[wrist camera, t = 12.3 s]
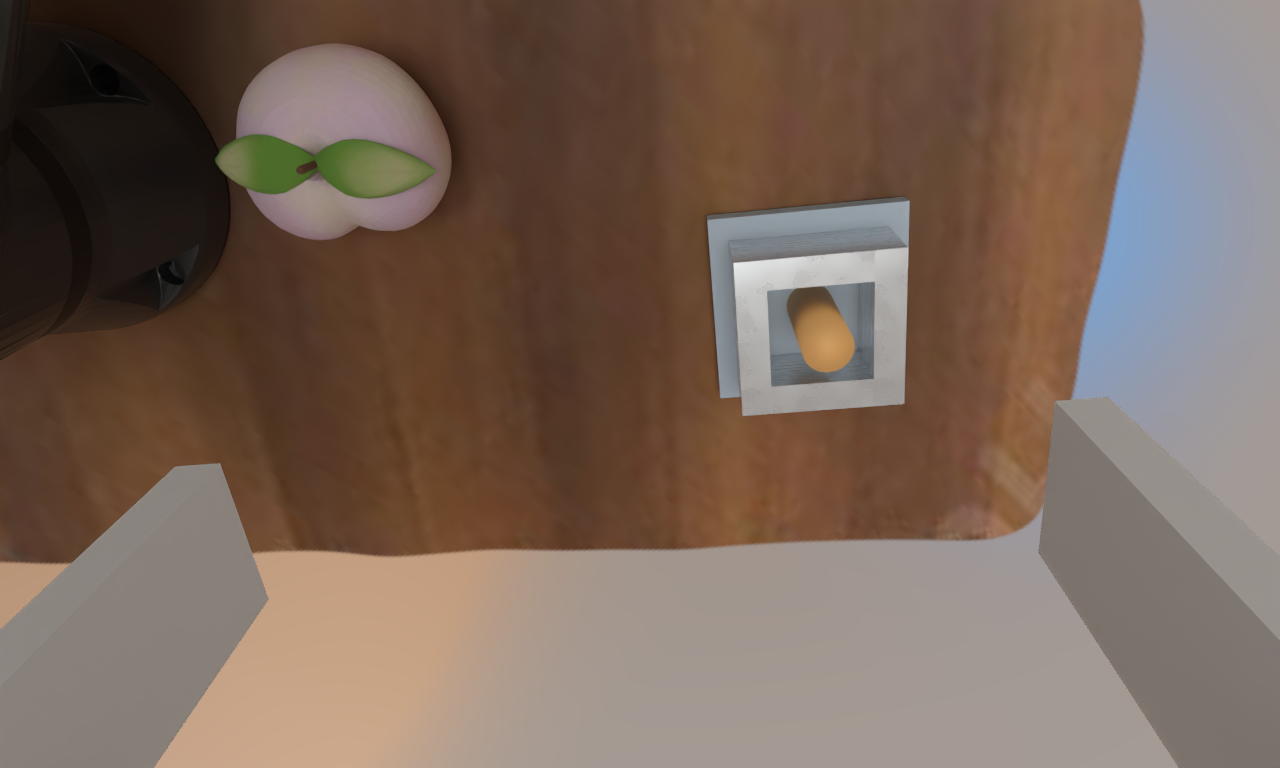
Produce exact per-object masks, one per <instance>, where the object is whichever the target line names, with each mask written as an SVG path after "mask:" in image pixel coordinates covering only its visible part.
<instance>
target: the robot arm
mask: <svg viewBox="0 0 1280 768" xmlns="http://www.w3.org/2000/svg"><path fill="white" fill-rule="evenodd" d="M29 5H30V0H0V360H1V359H3V358H5V357H7V356H8V355H10V354H12V353H14V352H16V351H17V350H19V349H21V348H23V347H25V346H26V345H28V344H30V343H32V342H33V341H35V340H37V339H39V338H41V337H43V336H45V335H49V334H61V333H72V332H84V331H96V330H108V329H116V328H122V327H127V326H131V325H134V324H138V323H141V322H144V321H146V320H149V319H151V318H154V317H156V316H158V315H160V314H161V313H163V312H165V311H166V310H168V309H170V308H171V307H173V306H175V305H176V304H178V303H180V302H181V301H183V300H184V299H186V298H187V297H189V296H190V295H191V294H193V293H194V292H195V291H196V290H197V289H198V288H199V287H200V286H201V285H202V284H203V283H204V282H205V281H206V279H207V278H208V277H209V275H210V274H211V273H212V271H213V269H214V268H215V266H216V264H217V262H218V260H219V258H220V256H221V253H222V250H223V247H224V244H225V240H226V236H227V230H228V222H229V198H228V190H227V184H226V179H225V174H224V173H223V172H222V170H221V169H220V168H219V166H218V165H217V164H216V162H215V158H216V157H217V156H218V152H217V150H216V148H215V145H214V143H213V141H212V139H211V137H210V135H209V133H208V131H207V129H206V127H205V125H204V124H203V122H202V120H201V119H200V117H199V116H198V114H197V113H196V111H195V110H194V108H193V107H192V106H191V104H190V103H189V102H188V100H187V99H186V98H185V97H184V95H183V94H182V93H181V92H180V91H179V90H178V88H177V87H176V86H175V85H174V84H173V83H172V82H171V81H170V80H169V79H168V78H167V77H166V76H165V75H164V74H163V73H161V72H160V71H159V70H158V69H157V68H156V67H154V66H153V65H152V64H151V63H150V62H148V61H147V60H146V59H144V58H143V57H141V56H140V55H139V54H137V53H136V52H134V51H132V50H131V49H129V48H128V47H126V46H124V45H122V44H121V43H119V42H117V41H115V40H113V39H111V38H109V37H107V36H104V35H102V34H99V33H97V32H94V31H91V30H88V29H85V28H82V27H78V26H74V25H69V24H64V23H57V22H27V21H28V13H29ZM1039 554H1040V555H1041V557H1042V559H1043V560H1044V562H1045V563H1046V565H1047V566H1048V568H1049V569H1050V571H1051V572H1052V574H1053V575H1054V577H1055V579H1056V580H1057V582H1058V583H1059V585H1060V586H1061V588H1062V589H1063V591H1064V592H1065V594H1066V595H1067V597H1068V598H1069V600H1070V602H1071V603H1072V605H1073V606H1074V607H1075V609H1076V611H1077V612H1078V614H1079V615H1080V617H1081V618H1082V620H1083V621H1084V623H1085V625H1086V626H1087V628H1088V629H1089V631H1090V632H1091V634H1092V635H1093V637H1094V638H1095V640H1096V641H1097V643H1098V644H1099V646H1100V648H1101V649H1102V651H1103V652H1104V654H1105V655H1106V657H1107V658H1108V660H1109V661H1110V663H1111V664H1112V666H1113V667H1114V669H1115V670H1116V672H1117V674H1118V675H1119V677H1120V678H1121V680H1122V681H1123V683H1124V684H1125V686H1126V687H1127V689H1128V690H1129V692H1130V693H1131V695H1132V697H1133V698H1134V700H1135V701H1136V703H1137V704H1138V706H1139V707H1140V709H1141V710H1142V712H1143V713H1144V715H1145V717H1146V718H1147V720H1148V721H1149V723H1150V724H1151V726H1152V727H1153V729H1154V730H1155V732H1156V733H1157V735H1158V736H1159V738H1160V739H1161V741H1162V743H1163V744H1164V746H1165V747H1166V749H1167V750H1168V752H1169V753H1170V755H1171V756H1172V758H1173V759H1174V761H1175V762H1176V764H1177V766H1178V767H1179V768H1280V556H1279V555H1278V554H1277V553H1276V552H1275V551H1274V550H1273V549H1272V548H1271V547H1270V546H1269V545H1267V544H1266V543H1265V542H1264V541H1263V540H1262V539H1261V538H1260V537H1259V536H1258V535H1257V534H1256V533H1255V532H1253V531H1252V530H1251V529H1250V528H1249V527H1248V526H1247V525H1246V524H1245V523H1244V522H1243V521H1242V520H1240V519H1239V518H1238V517H1237V516H1236V515H1235V514H1234V513H1233V512H1232V511H1231V510H1230V509H1228V508H1227V507H1226V506H1225V505H1224V504H1223V503H1222V502H1221V501H1220V500H1219V499H1218V498H1217V497H1216V496H1214V495H1213V494H1212V493H1211V492H1210V491H1209V490H1208V489H1207V488H1206V487H1205V486H1204V485H1203V484H1201V483H1200V482H1199V481H1198V480H1197V479H1196V478H1195V477H1194V476H1193V475H1192V474H1191V473H1189V472H1188V471H1187V470H1186V469H1185V468H1184V467H1183V466H1182V465H1181V464H1180V463H1179V462H1178V461H1177V460H1176V459H1174V458H1173V457H1172V456H1171V455H1170V454H1169V453H1168V452H1167V451H1166V450H1165V449H1164V448H1162V447H1161V446H1160V445H1159V444H1158V443H1157V442H1156V441H1155V440H1154V439H1153V438H1152V437H1151V436H1150V435H1149V434H1147V433H1146V432H1145V431H1144V430H1143V429H1142V428H1141V427H1140V426H1139V425H1138V424H1137V423H1136V422H1134V421H1133V420H1132V419H1131V418H1130V417H1129V416H1128V415H1127V414H1126V413H1125V412H1124V411H1122V410H1121V409H1120V408H1119V407H1118V406H1117V405H1116V404H1115V403H1114V402H1113V401H1112V400H1111V399H1110V398H1108V397H1103V398H1090V399H1078V400H1077V399H1076V400H1063V401H1055V406H1054V415H1053V425H1052V434H1051V443H1050V452H1049V461H1048V471H1047V480H1046V489H1045V498H1044V507H1043V518H1042V526H1041V535H1040V545H1039ZM267 601H268V597H267V594H266V591H265V588H264V585H263V582H262V580H261V577H260V574H259V571H258V569H257V566H256V563H255V560H254V558H253V554H252V552H251V549H250V546H249V543H248V540H247V538H246V535H245V532H244V529H243V526H242V524H241V521H240V518H239V515H238V512H237V510H236V507H235V504H234V501H233V498H232V496H231V493H230V490H229V487H228V484H227V482H226V479H225V476H224V473H223V470H222V468H221V465H220V463H217V464H204V465H190V466H177V467H174V468H173V469H172V470H171V471H170V472H169V473H168V474H167V475H166V476H165V477H163V478H162V479H161V480H160V481H159V482H158V483H157V484H156V485H155V486H154V487H153V488H152V489H151V490H150V491H148V492H147V493H146V494H145V495H144V496H143V497H142V498H141V499H140V500H139V501H138V502H137V503H136V504H135V505H133V506H132V507H131V508H130V509H129V510H128V511H127V512H126V513H125V514H124V515H123V516H122V517H121V518H119V519H118V520H117V521H116V522H115V523H114V524H113V525H112V526H111V527H110V528H109V529H108V530H107V531H106V532H104V533H103V534H102V535H101V536H100V537H99V538H98V539H97V540H96V541H95V542H94V543H93V544H92V545H91V546H89V547H88V548H87V549H86V550H85V551H84V552H83V553H82V554H81V555H80V556H79V557H78V558H77V559H75V560H74V561H73V562H72V563H71V564H70V565H69V566H68V567H67V568H66V569H65V570H64V571H63V572H62V573H60V574H59V575H58V576H57V577H56V578H55V579H54V580H53V581H52V582H51V583H50V584H49V585H48V586H47V587H45V588H44V589H43V590H42V591H41V592H40V593H39V594H38V595H37V596H36V597H35V598H34V599H33V600H31V602H29V603H28V604H27V605H26V606H25V607H24V608H23V609H22V610H21V611H20V612H19V613H18V614H16V616H14V617H13V618H12V619H11V620H10V621H9V622H8V623H7V624H6V625H5V626H4V627H3V628H1V629H0V768H154V767H155V765H156V764H157V762H158V761H159V759H160V758H161V756H162V755H163V753H164V752H165V751H166V749H167V748H168V746H169V745H170V743H171V742H172V740H173V739H174V737H175V736H176V734H177V733H178V731H179V730H180V729H181V727H182V726H183V724H184V723H185V721H186V719H187V718H188V717H189V715H190V714H191V712H192V711H193V709H194V708H195V706H196V705H197V704H198V702H199V700H200V699H201V698H202V696H203V695H204V693H205V692H206V690H207V689H208V687H209V686H210V684H211V683H212V681H213V680H214V679H215V677H216V675H217V674H218V673H219V671H220V670H221V668H222V667H223V665H224V664H225V662H226V661H227V659H228V658H229V657H230V655H231V654H232V652H233V651H234V649H235V647H236V646H237V645H238V643H239V642H240V640H241V639H242V637H243V636H244V634H245V633H246V631H247V630H248V629H249V627H250V625H251V624H252V623H253V621H254V620H255V618H256V617H257V615H258V614H259V612H260V611H261V609H262V608H263V607H264V605H265V604H266V602H267Z"/></svg>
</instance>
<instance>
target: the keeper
mask: <svg viewBox="0 0 1280 768" xmlns="http://www.w3.org/2000/svg"><path fill="white" fill-rule="evenodd" d="M909 202H910V201H909V200H908V199H907V198H906V197H895V198H885V199H874V200H863V201H853V202H842V203H832V204H821V205H811V206H800V207H790V208H779V209H769V210H758V211H748V212H737V213H727V214H716V215H707V226H708V240H709V254H710V267H711V281H712V294H713V308H714V321H715V335H716V349H717V362H718V376H719V389H720V398H732V397H740V396H739V389H738V383H737V367H736V351H735V335H734V319H733V303H732V287H731V271H730V255H729V240H740V239H751V238H762V237H773V236H784V235H795V234H806V233H817V232H827V231H838V230H849V229H860V228H871V227H882V226H889V227H890V228H891V229H892V230H893V231H894V232H895V233H896V234H897V236H898V237H899V238H900V239H901V240H902V241H903V242H904V243H905V244H906V245H907V246H908V240H909ZM767 300H768V323H769V345H770V355H779V354H791V353H802V355H803V358H804V360H805V362H806V363H807V364H808V365H809V366H810V367H811V368H813V369H814V370H817V371H820V372H833V371H836V370H839V369H841V368H843V367H844V366H845V365H846V364H847V363H848V362H849V361H850V360H851V358H852V356H853V354H854V350H855V348H858V283H852V284H840V285H829V286H817V287H805V288H794V289H782V290H771V291H767Z"/></svg>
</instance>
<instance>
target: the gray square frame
mask: <svg viewBox="0 0 1280 768" xmlns="http://www.w3.org/2000/svg"><path fill="white" fill-rule="evenodd" d="M729 255H730V271H731V287H732V303H733V319H734V335H735V351H736V367H737V383H738V389H739V396H740V402H741V409H742V415H743V416H749V415H762V414H776V413H789V412H802V411H816V410H829V409H843V408H856V407H869V406H883V405H896V404H904V392H905V356H906V319H907V282H908V246H907V245H906V244H905V243H904V242H903V241H902V240H901V239H900V238H899V237H898V236H897V234H896V233H895V232H894V231H893V230H892V229H891V228H890V227H889V226H882V227H871V228H860V229H849V230H838V231H827V232H817V233H806V234H795V235H784V236H773V237H762V238H751V239H740V240H729ZM852 283H858V348H855V350H854V354H853V356H852V358H851V360H850V361H849V362H848V363H847V364H846V365H845V366H844V367H843V368H841V369H839V370H836V371H833V372H820V371H817V370H814V369H813V368H811V367H810V366H809V365H808V364H807V363H806V362H805V360H804V358H803V355H802V353H791V354H779V355H770V345H769V323H768V300H767V291H771V290H782V289H794V288H805V287H817V286H829V285H840V284H852Z"/></svg>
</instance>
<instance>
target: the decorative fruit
mask: <svg viewBox="0 0 1280 768" xmlns="http://www.w3.org/2000/svg"><path fill="white" fill-rule="evenodd" d="M215 162H216V164H217V165H218V166H219V168H220V169H221V170H222V172H223V173H224V174H226V175H227V176H228V177H229V178H230V179H232V180H233V181H235V182H236V183H238V184H239V185H241V186H243V187H245V188H246V189H247V192H248V193H249V195H250V197H251V198H252V200H253V202H254V203H255V204H256V206H257V207H258V208H259V210H260V211H261V212H262V213H263V214H264V215H265V216H266V217H267V218H268V219H269V220H270V221H272V222H273V223H274V224H275V225H277V226H278V227H279V228H281V229H283V230H285V231H287V232H289V233H292V234H294V235H296V236H299V237H303V238H307V239H313V240H329V239H334V238H338V237H341V236H343V235H345V234H347V233H349V232H351V231H352V230H354V229H355V228H357V227H358V226H362V227H364V228H368V229H372V230H379V231H397V230H402V229H406V228H409V227H411V226H413V225H415V224H417V223H418V222H420V221H422V220H423V219H425V218H426V217H427V216H428V215H429V214H430V213H431V212H432V211H433V210H434V209H435V208H436V207H437V205H438V204H439V202H440V200H441V199H442V197H443V195H444V193H445V190H446V188H447V186H448V182H449V178H450V175H451V166H452V160H451V147H450V143H449V139H448V136H447V133H446V130H445V127H444V125H443V123H442V121H441V119H440V117H439V115H438V113H437V111H436V109H435V108H434V106H433V104H432V103H431V101H430V100H429V98H428V97H427V95H426V94H425V93H424V91H423V90H422V89H421V88H420V86H419V85H418V84H417V83H416V82H415V81H414V80H413V78H411V77H410V76H409V75H408V74H407V73H406V72H405V71H404V70H403V69H402V68H400V67H399V66H398V65H397V64H395V63H394V62H392V61H391V60H389V59H388V58H386V57H384V56H383V55H381V54H378V53H376V52H373V51H371V50H368V49H365V48H362V47H358V46H353V45H349V44H340V43H329V44H321V45H315V46H309V47H305V48H301V49H297V50H295V51H292V52H290V53H288V54H286V55H284V56H282V57H280V58H278V59H277V60H275V61H274V62H272V63H271V64H269V65H268V66H266V67H265V68H264V69H263V70H262V71H261V72H260V73H259V74H258V75H257V76H256V77H255V78H254V79H253V80H252V81H251V83H250V84H249V85H248V87H247V89H246V91H245V92H244V95H243V97H242V99H241V102H240V105H239V108H238V113H237V123H236V140H234V141H232V142H230V143H228V144H227V145H226V146H224V147H223V148H222V149H221V150H220V151H219V154H218V156H217V157H216V158H215Z"/></svg>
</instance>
